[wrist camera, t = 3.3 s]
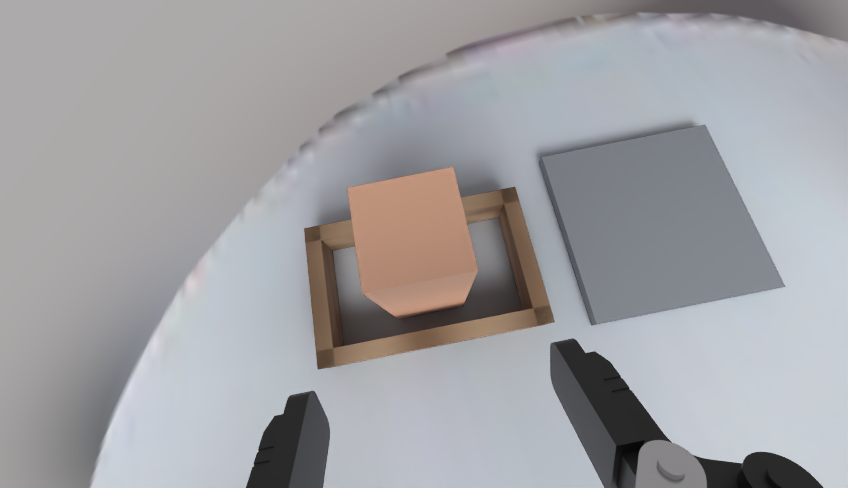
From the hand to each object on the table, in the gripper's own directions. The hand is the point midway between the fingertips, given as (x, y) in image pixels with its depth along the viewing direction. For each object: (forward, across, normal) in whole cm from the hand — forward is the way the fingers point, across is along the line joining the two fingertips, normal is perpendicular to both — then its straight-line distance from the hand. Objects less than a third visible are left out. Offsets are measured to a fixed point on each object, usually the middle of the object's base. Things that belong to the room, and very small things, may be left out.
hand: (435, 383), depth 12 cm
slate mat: (+13, -16, +3) cm, 21 cm away
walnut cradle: (+12, 0, +4) cm, 13 cm away
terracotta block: (+12, 0, +4) cm, 13 cm away
